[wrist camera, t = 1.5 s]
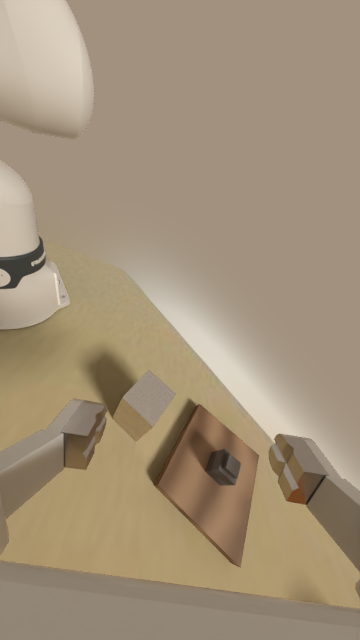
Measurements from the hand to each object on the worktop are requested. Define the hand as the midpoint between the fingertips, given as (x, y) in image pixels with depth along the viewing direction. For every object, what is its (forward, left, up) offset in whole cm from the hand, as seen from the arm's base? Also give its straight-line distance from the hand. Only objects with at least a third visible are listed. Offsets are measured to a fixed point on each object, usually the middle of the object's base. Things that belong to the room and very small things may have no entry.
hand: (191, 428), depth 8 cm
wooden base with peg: (+6, +14, -26) cm, 30 cm away
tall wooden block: (-6, +4, -26) cm, 27 cm away
